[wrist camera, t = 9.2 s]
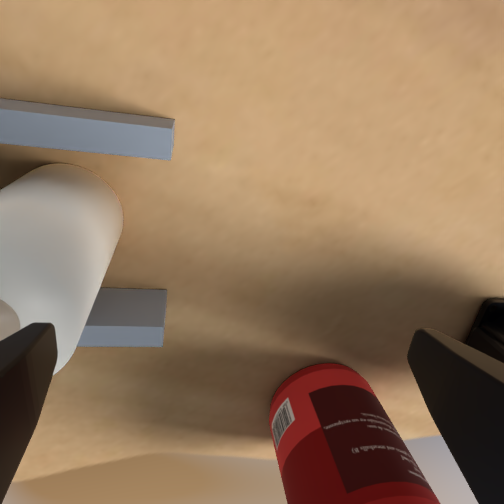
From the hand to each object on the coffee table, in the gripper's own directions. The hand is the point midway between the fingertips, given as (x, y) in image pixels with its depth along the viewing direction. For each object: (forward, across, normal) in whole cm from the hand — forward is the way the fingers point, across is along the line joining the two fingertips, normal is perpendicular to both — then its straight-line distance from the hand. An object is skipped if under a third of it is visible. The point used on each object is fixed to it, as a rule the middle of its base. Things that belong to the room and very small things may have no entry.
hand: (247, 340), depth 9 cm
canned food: (+12, -8, +14) cm, 20 cm away
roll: (+11, +8, +1) cm, 14 cm away
